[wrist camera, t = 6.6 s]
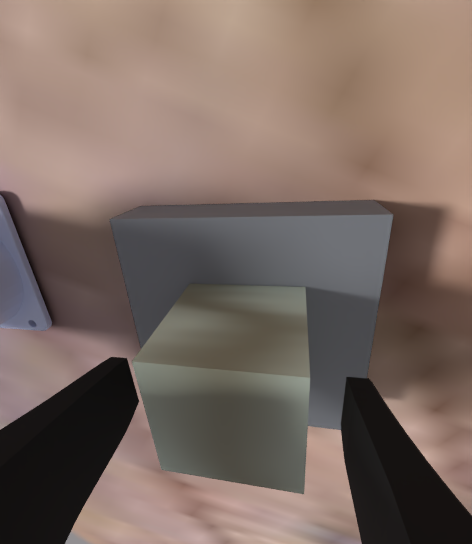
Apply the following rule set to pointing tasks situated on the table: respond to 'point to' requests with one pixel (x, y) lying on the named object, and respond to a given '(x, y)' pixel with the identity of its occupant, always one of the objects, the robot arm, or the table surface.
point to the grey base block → (268, 272)
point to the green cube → (230, 385)
